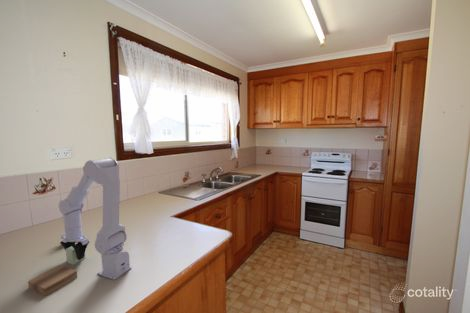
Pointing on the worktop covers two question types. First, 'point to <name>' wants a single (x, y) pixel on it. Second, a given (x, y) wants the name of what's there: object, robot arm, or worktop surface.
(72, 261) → the sage-green block
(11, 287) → the worktop surface
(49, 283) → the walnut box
